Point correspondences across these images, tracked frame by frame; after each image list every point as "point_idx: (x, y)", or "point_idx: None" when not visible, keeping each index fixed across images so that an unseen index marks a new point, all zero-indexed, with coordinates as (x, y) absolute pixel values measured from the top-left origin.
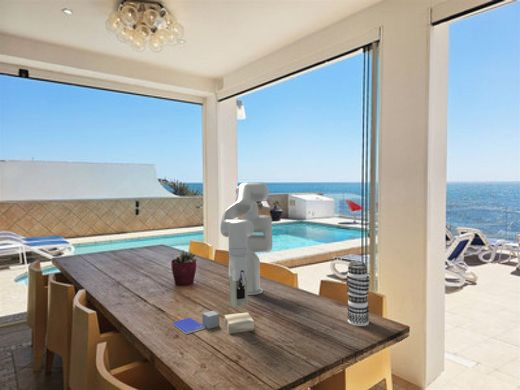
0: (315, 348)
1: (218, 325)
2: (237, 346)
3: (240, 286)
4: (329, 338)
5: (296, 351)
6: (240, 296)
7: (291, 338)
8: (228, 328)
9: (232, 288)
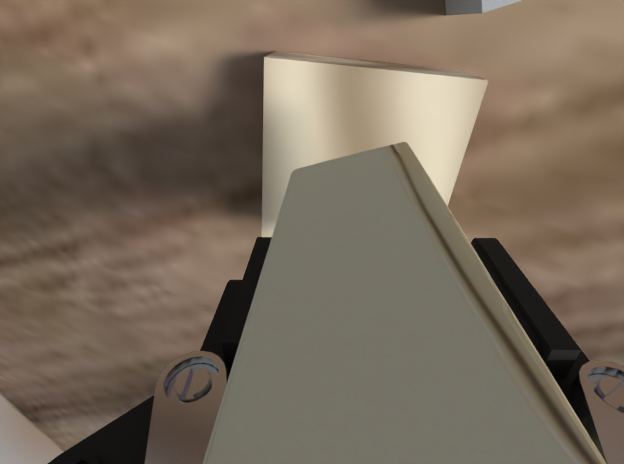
0: (40, 344)
1: (446, 5)
2: (68, 46)
3: (105, 439)
4: (116, 403)
5: (13, 285)
6: (230, 289)
7: (135, 316)
8: (291, 55)
9: (345, 290)
